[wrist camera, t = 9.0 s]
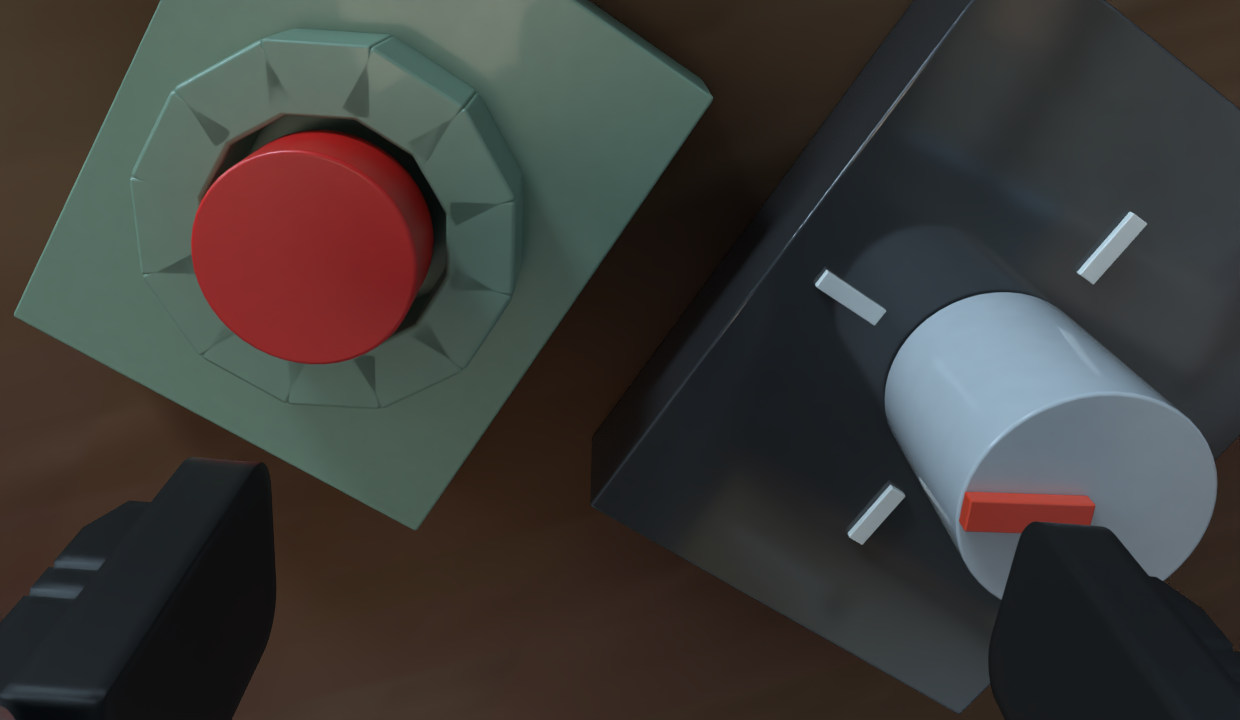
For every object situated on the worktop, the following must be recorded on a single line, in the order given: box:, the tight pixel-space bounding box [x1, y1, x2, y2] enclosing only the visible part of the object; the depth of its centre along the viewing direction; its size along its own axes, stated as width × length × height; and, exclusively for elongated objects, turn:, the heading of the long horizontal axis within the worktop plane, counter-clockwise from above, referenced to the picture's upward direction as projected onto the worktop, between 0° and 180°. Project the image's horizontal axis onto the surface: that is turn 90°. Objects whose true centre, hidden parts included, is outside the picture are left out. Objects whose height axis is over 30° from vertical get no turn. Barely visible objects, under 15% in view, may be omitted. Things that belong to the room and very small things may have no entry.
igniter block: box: [14, 0, 713, 530], centre depth 19 cm, size 11×9×4 cm
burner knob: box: [885, 292, 1217, 600], centre depth 18 cm, size 4×4×5 cm
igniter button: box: [191, 130, 434, 364], centre depth 17 cm, size 4×4×2 cm
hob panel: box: [590, 0, 1240, 714], centre depth 21 cm, size 13×10×3 cm
